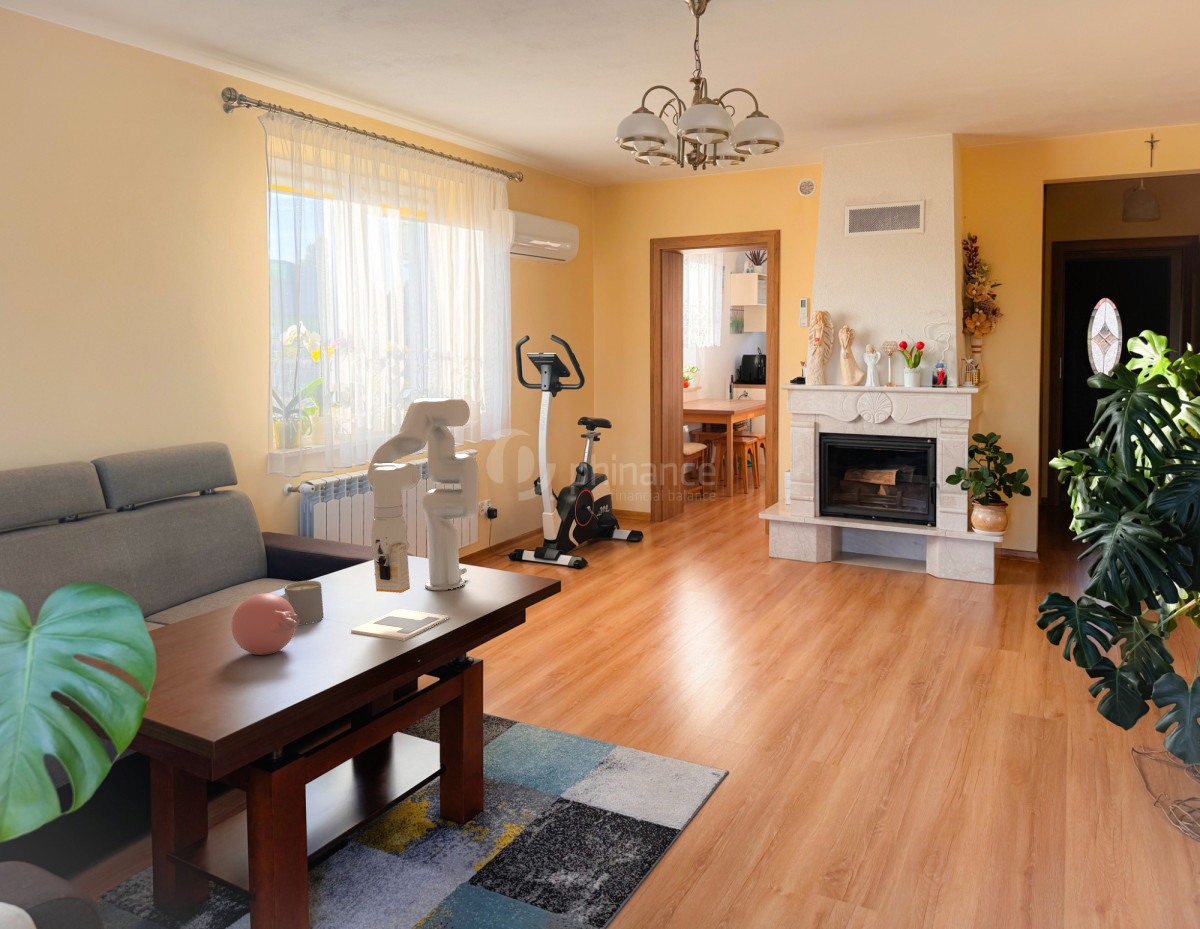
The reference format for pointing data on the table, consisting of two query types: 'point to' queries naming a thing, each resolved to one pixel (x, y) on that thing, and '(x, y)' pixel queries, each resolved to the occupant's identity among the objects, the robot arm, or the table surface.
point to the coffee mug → (305, 600)
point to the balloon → (264, 624)
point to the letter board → (400, 624)
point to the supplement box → (395, 571)
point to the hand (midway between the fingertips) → (392, 576)
